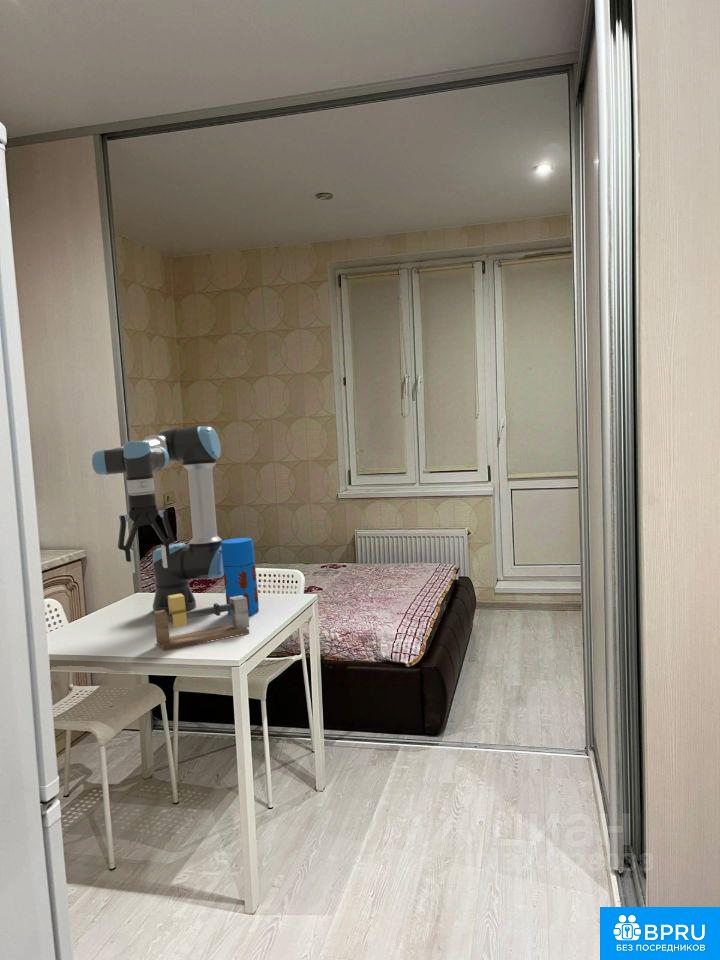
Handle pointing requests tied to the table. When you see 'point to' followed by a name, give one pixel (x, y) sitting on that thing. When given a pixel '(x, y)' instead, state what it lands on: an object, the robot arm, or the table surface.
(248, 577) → the thermos
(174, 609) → the sleeve
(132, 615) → the table surface
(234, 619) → the rod stand
